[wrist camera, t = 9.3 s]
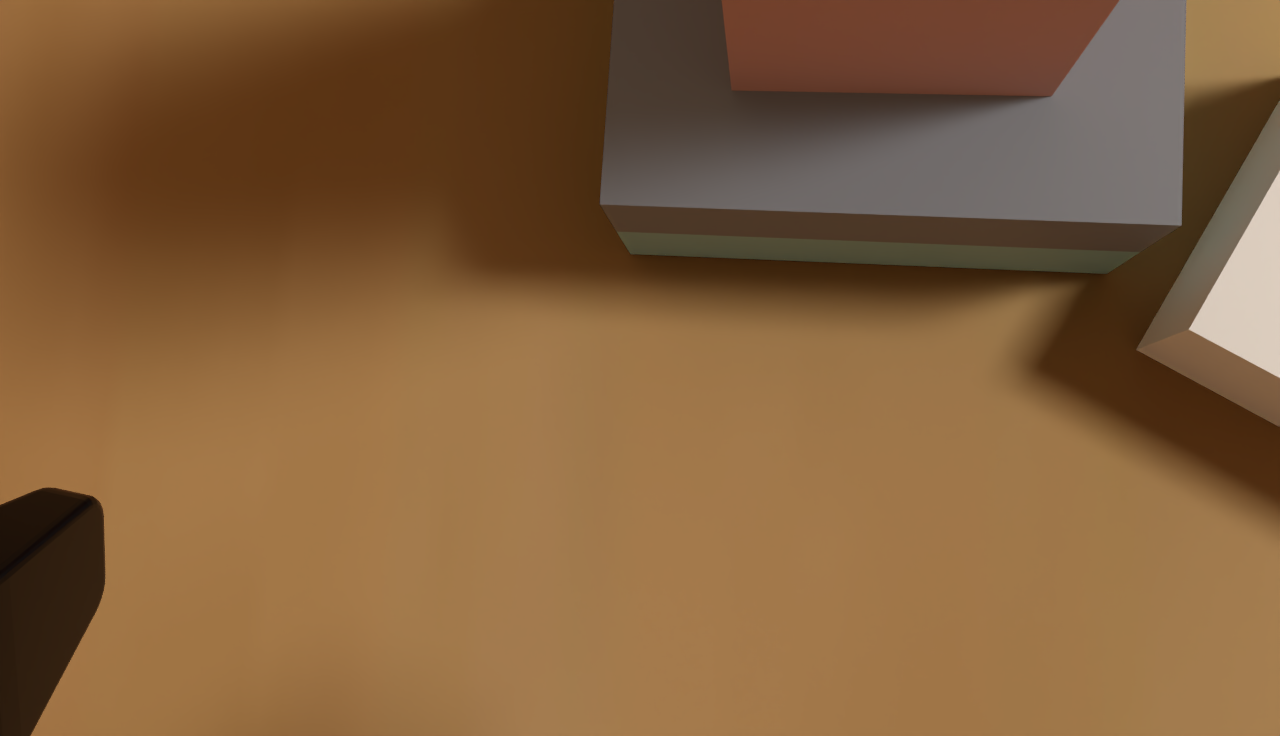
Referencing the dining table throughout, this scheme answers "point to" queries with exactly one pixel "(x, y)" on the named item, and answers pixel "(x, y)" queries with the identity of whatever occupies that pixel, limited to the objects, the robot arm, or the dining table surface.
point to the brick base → (893, 155)
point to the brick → (1231, 292)
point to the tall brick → (908, 45)
